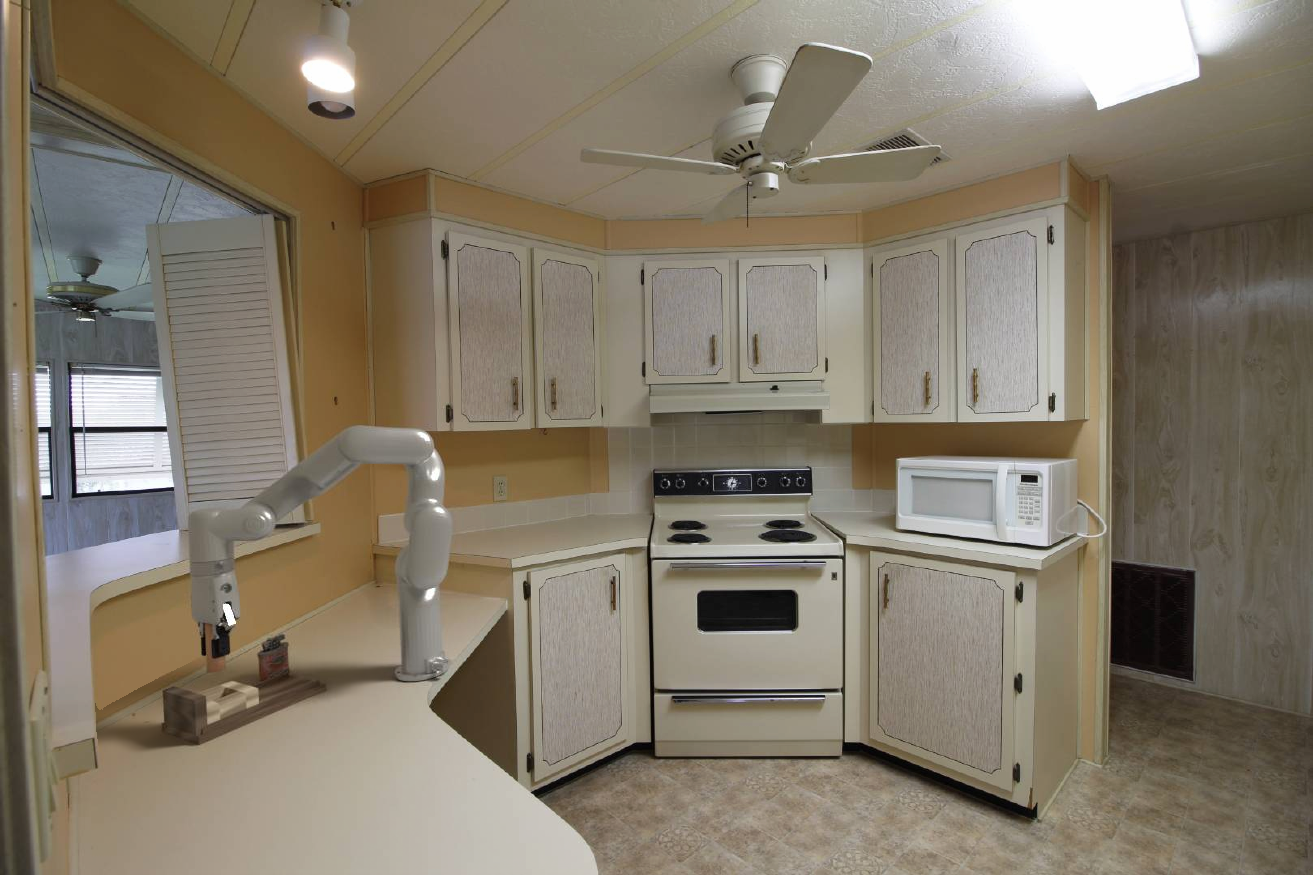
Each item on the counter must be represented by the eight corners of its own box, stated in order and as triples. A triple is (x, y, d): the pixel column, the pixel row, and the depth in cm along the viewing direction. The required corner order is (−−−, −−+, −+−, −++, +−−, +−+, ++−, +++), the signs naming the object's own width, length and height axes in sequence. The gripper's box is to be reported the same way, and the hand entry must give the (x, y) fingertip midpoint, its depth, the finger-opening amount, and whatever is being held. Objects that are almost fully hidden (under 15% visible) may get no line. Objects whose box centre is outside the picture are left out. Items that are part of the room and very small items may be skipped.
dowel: (212, 673, 123) (210, 625, 123) (203, 670, 125) (201, 623, 125) (229, 667, 126) (227, 620, 126) (220, 665, 127) (218, 618, 127)
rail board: (326, 689, 139) (324, 653, 139) (199, 744, 116) (197, 701, 116) (289, 680, 146) (287, 645, 145) (162, 730, 122) (160, 689, 122)
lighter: (266, 685, 143) (264, 643, 143) (254, 684, 144) (252, 643, 144) (293, 671, 151) (291, 632, 151) (282, 670, 152) (280, 631, 151)
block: (259, 706, 128) (258, 688, 128) (206, 728, 119) (205, 708, 119) (232, 698, 132) (231, 680, 132) (179, 719, 123) (178, 699, 123)
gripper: (254, 566, 125) (257, 654, 125) (210, 560, 132) (214, 643, 132) (214, 575, 118) (218, 667, 118) (170, 568, 125) (174, 655, 126)
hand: (215, 654), depth 125 cm, fingers closed on dowel, 3 cm apart
